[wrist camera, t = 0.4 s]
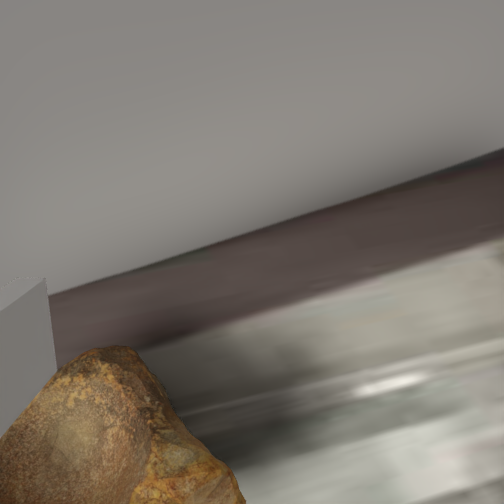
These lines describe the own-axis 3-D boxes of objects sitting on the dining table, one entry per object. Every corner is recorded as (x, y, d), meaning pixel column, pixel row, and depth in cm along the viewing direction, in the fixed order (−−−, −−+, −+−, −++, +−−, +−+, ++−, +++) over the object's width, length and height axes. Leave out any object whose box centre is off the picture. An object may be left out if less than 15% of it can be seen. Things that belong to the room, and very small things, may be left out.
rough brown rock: (240, 345, 48) (219, 303, 35) (259, 534, 42) (242, 573, 28) (15, 374, 49) (-93, 343, 35) (0, 563, 43) (-139, 615, 29)
